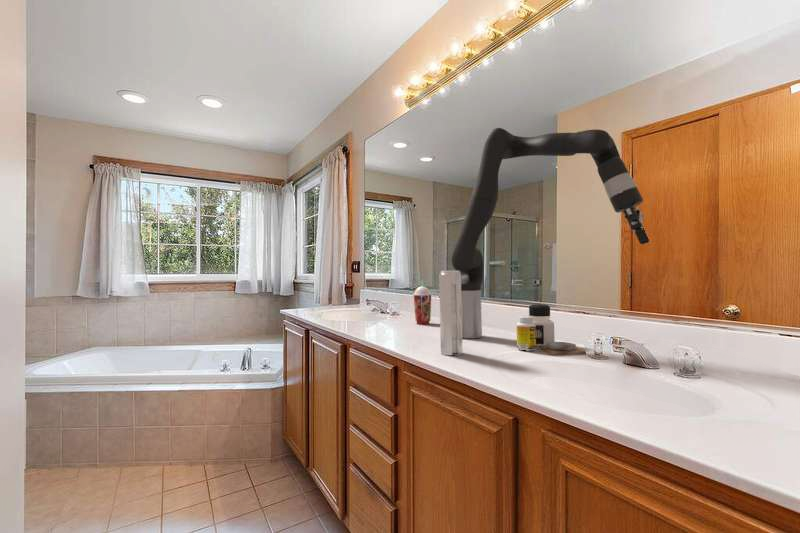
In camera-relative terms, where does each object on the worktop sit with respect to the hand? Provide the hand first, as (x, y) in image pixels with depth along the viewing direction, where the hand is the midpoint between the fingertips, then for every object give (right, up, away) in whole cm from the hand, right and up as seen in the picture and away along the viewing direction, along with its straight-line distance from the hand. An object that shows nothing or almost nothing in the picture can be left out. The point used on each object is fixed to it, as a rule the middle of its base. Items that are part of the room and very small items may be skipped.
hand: (647, 243), depth 110 cm
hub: (-21, -32, +8) cm, 39 cm away
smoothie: (-59, -33, +71) cm, 98 cm away
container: (-23, -32, +19) cm, 44 cm away
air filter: (-54, -33, +8) cm, 64 cm away
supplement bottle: (-31, -32, +10) cm, 46 cm away
